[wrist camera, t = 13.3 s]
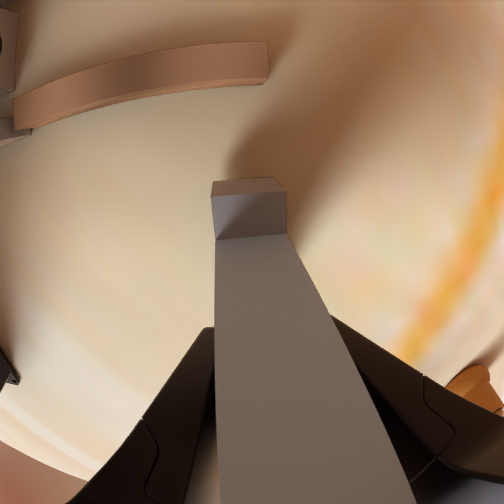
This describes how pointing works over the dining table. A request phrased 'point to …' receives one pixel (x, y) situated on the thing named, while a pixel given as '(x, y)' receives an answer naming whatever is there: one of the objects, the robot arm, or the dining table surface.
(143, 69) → the slot rails
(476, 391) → the ornamental finial
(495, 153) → the dining table surface
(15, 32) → the dice cube
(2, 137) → the box
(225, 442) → the grey notched beam
